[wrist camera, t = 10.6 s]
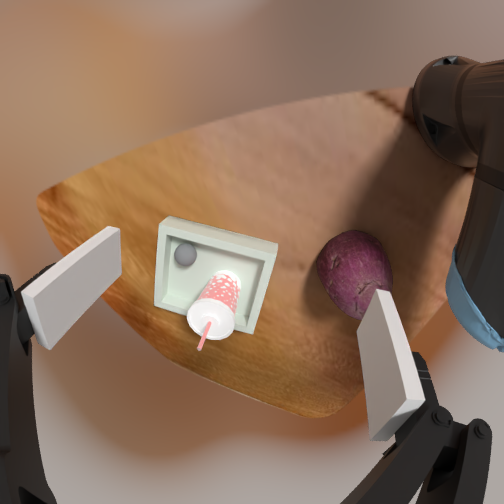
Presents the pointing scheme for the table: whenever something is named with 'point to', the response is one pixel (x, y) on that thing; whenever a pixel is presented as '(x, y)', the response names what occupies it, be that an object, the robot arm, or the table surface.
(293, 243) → the table surface
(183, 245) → the ball
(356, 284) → the vegetable
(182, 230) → the tray
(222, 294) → the beverage cup
